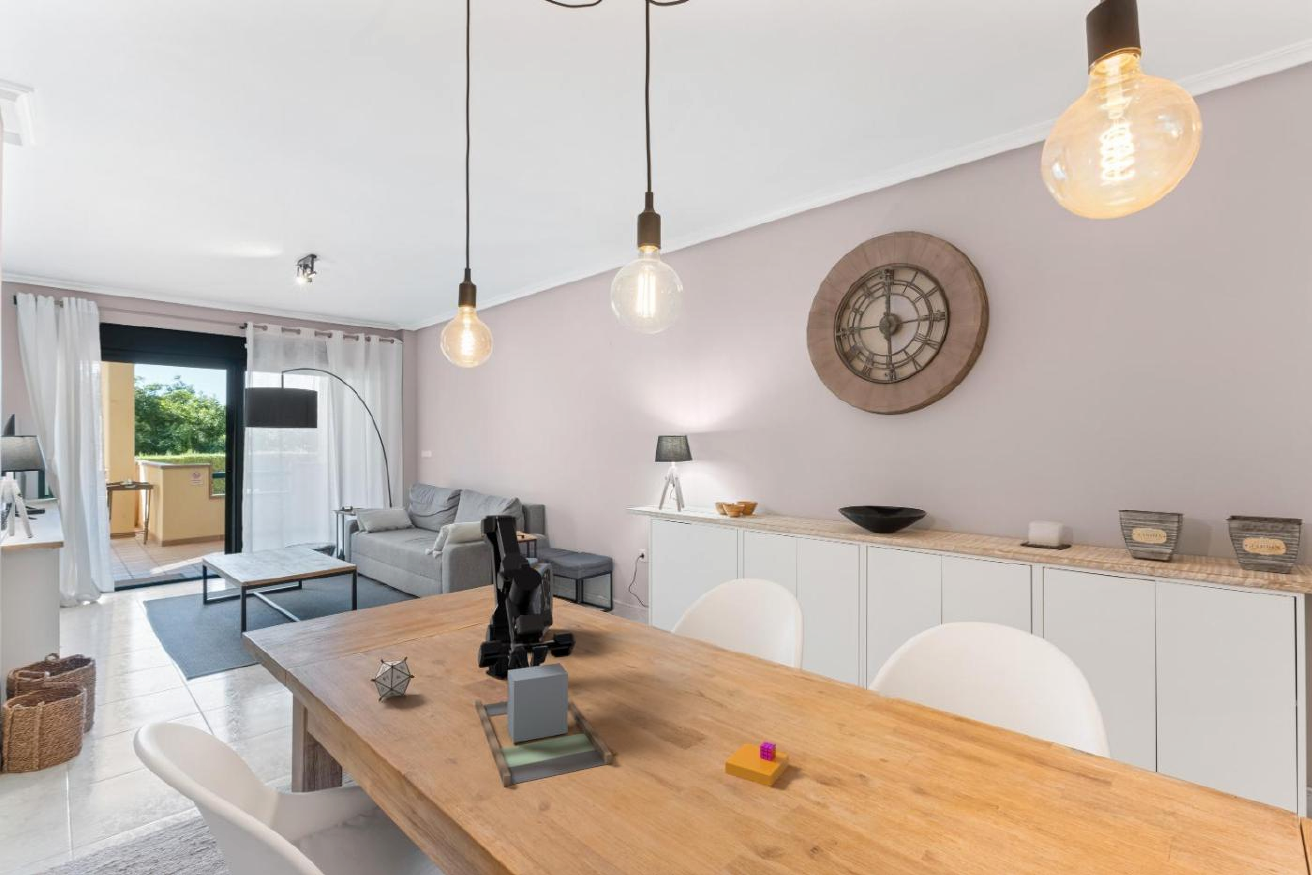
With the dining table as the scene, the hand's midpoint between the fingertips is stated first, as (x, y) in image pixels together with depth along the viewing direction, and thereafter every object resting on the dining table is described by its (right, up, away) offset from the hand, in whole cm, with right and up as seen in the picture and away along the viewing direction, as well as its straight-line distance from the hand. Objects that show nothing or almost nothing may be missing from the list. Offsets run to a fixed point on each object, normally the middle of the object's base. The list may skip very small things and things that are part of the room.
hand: (533, 689), depth 118 cm
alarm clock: (-12, -8, +56) cm, 57 cm away
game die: (-33, -7, +13) cm, 36 cm away
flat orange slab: (+40, -7, -16) cm, 44 cm away
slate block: (+1, -7, -3) cm, 8 cm away
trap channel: (+1, -7, -3) cm, 7 cm away
